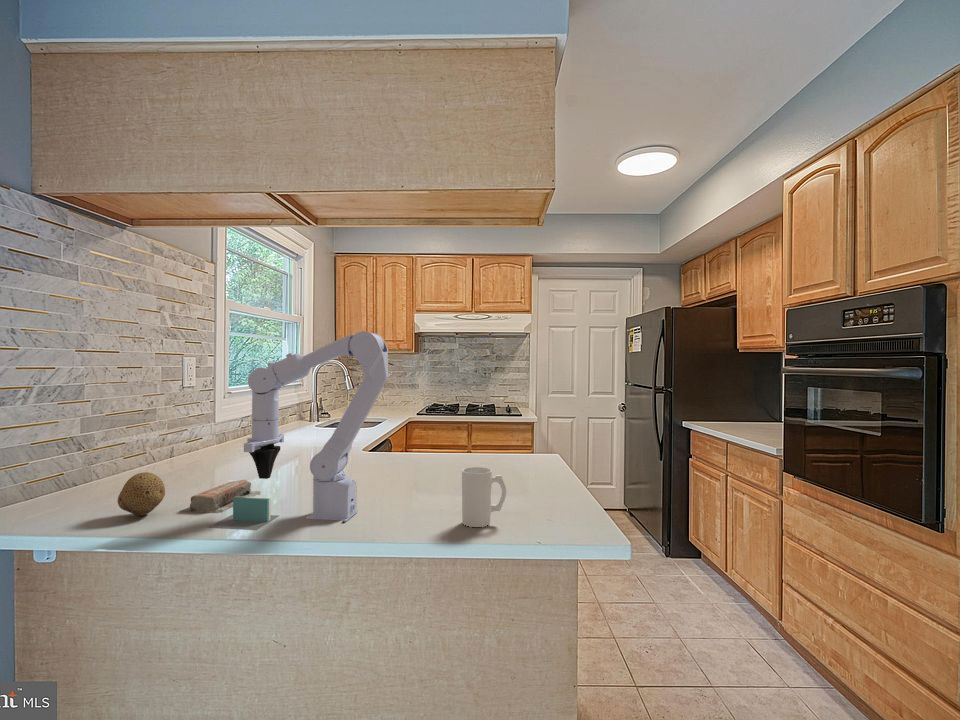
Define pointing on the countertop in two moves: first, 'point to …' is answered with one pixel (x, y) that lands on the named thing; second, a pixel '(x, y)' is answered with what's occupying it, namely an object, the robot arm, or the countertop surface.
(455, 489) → the countertop surface
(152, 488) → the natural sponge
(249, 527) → the mat
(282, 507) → the countertop surface
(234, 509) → the tile
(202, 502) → the old brick
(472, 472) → the mug
